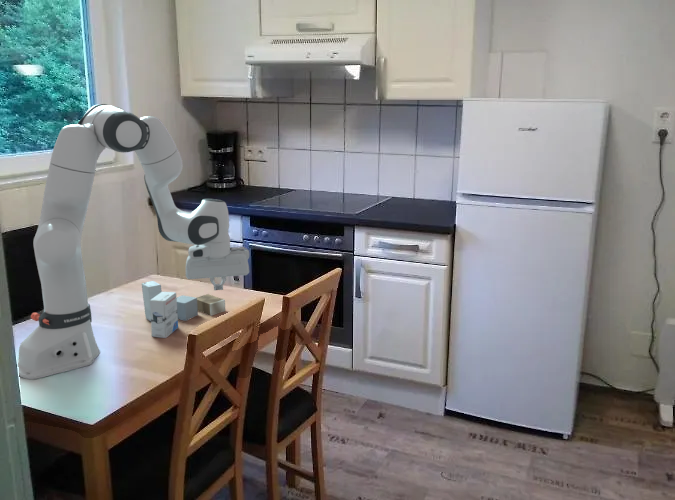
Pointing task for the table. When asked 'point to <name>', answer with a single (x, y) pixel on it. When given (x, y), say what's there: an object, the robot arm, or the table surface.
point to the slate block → (186, 307)
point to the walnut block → (210, 304)
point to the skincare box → (149, 295)
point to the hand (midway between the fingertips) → (218, 289)
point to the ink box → (164, 314)
